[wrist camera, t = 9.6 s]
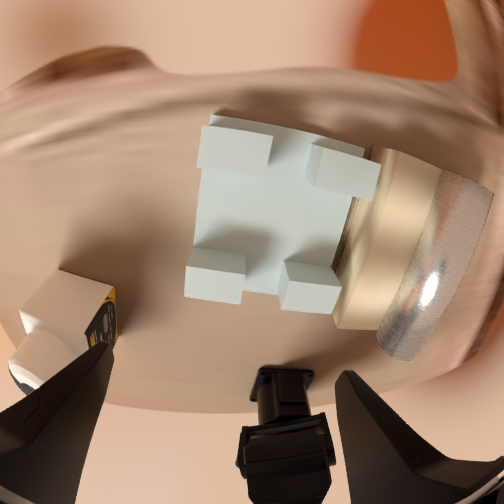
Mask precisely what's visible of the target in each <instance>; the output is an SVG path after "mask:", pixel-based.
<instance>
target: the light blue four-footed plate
mask: <svg viewBox="0 0 504 504" xmlns="http://www.w3.org/2000/svg"><path fill="white" fill-rule="evenodd" d="M364 151H365V148H362V147H359V146H356V145H352V144H349V143H346V142H342V141H339V140H335V139H332V138H328V137H325V136H321V135H317V134H313V133H309V132H305V131H301V130H296V129H292V128H287V127H283V126H278V125H273V124H268V123H262V122H257V121H251V120H245V119H239V118H232V117H225V116H217V115H211V117H210V122H209V125H202V131H201V137H200V144H199V151H198V157H197V165H196V167H197V168H202V174H201V182H200V190H199V198H198V206H197V214H196V224H195V233H194V243H193V248H192V251H191V254H190V256H189V259H188V262H187V265H186V273H185V289H184V297H191V298H197V299H204V300H210V301H217V302H224V303H232V304H239V305H240V302H241V297H242V292H243V290H245V291H252V292H260V293H268V294H276V295H278V297H279V302H280V307H281V310H291V311H301V312H312V313H323V314H331V313H332V311H333V308H334V306H335V303H336V301H337V299H338V296H339V294H340V291H341V289H342V286H341V284H340V282H339V281H338V279H337V277H336V275H335V273H334V272H333V270H332V268H331V265H332V262H333V259H334V256H335V253H336V250H337V247H338V244H339V241H340V238H341V234H342V231H343V228H344V225H345V221H346V218H347V215H348V211H349V208H350V204H351V201H352V197H357V198H360V199H364V200H368V201H372V198H373V194H374V191H375V187H376V184H377V180H378V176H379V172H380V168H381V164H378V163H376V162H373V161H370V160H367V159H364V158H363V155H364Z"/></svg>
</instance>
